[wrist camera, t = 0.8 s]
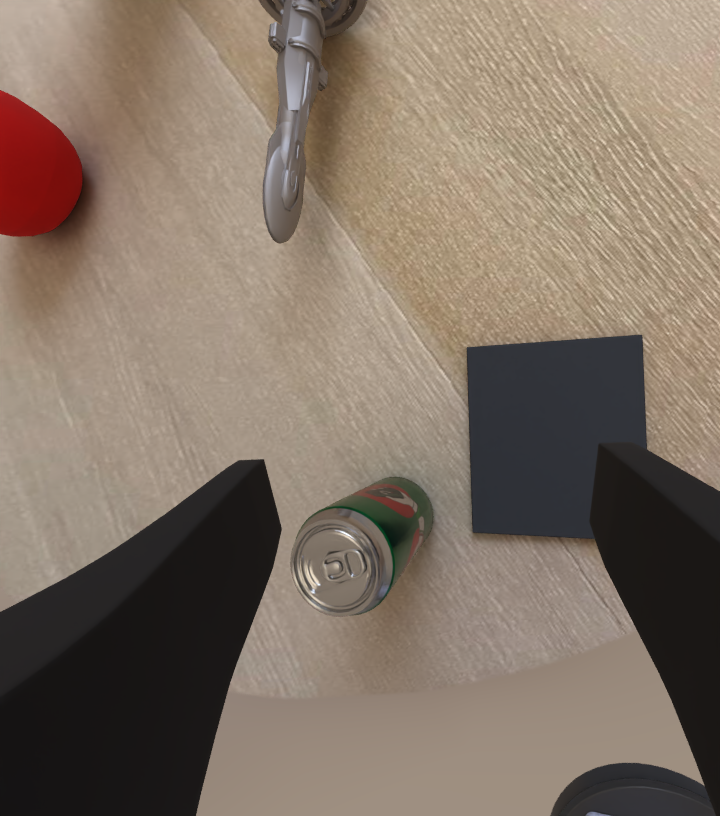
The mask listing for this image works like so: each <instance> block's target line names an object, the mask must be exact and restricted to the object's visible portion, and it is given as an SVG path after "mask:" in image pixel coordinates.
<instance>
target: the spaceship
mask: <svg viewBox="0 0 720 816" xmlns="http://www.w3.org/2000/svg"><path fill="white" fill-rule="evenodd" d="M321 1H322V2H323V3H324V4H325V5H326V6H327V7H326V8H321V4H320V3H319V0H273V1H272V0H259V2H260V3H261V5H262V6H263V8H264V9H265V10H266V11H267V12H268V13H269V14H270V15H271V16H272V17H273V18H274V19H275V20H276V21H277V22H279V23H280V24H281V25H282V26H281V25H279V24H278V23H277V22H275V23H273V24H271V25H270V30H269V38H268V42H269V44H270V46H271V47H272V48H273V49H274V50H275V51H276V52H277V53H278V61H277V79H278V91H279V108H278V116H277V124H276V130H275V132H274V133H273V135H272V136H271V138H270V139H269V143H268V151H267V159H266V167H265V174H264V180H263V209H264V217H265V221H266V225H267V228H268V231H269V233H270V235H271V237H272V238H273V240H274V241H275V242H277V243H284V242H286V241H288V240H289V239H290V238H291V236H292V235H293V233H294V231H295V229H296V227H297V224H298V221H299V218H300V214H301V209H302V203H303V190H304V181H305V172H306V160H305V154H304V149H303V148H304V141H305V133H306V127H307V123H308V116H309V113H310V110H311V108H312V105H313V102H314V100H315V97H316V94H317V89H318V90H320V91H322V90H323V89H325V88H326V87H327V79H328V72H327V71H326V70H325V69H324V67H323V66H322V65H321V53H322V44H323V39H324V37H325V39H326V37H327V36H332V35H336V34H338V33H341V32H343V31H345V30H346V29H348V28H349V27H350V26H352V25H353V24H354V23H355V22H356V20H357V19H358V18H359V16H360V15H361V13H362V12H363V10H364V8H365V6H366V3H367V0H335V1H334V2H332V3H331V1H330V0H321ZM352 3H353V4H352ZM334 4H335V5H334ZM333 5H334V6H333ZM351 5H352V6H351ZM349 8H350V9H349ZM348 9H349V10H348ZM321 10H323V11H321ZM345 13H346V14H345ZM343 14H345V15H344V16H343Z"/></svg>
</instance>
